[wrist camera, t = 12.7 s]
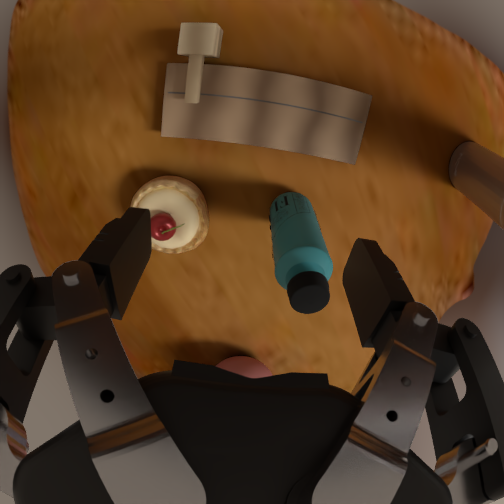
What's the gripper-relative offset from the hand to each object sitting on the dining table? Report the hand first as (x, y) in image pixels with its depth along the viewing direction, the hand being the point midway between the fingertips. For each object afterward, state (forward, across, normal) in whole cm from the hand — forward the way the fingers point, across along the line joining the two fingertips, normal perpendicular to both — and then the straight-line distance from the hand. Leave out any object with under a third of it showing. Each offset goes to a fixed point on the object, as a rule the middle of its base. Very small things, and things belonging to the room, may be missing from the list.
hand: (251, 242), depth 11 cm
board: (+30, -1, -2) cm, 30 cm away
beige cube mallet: (+30, +8, -7) cm, 32 cm away
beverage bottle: (+30, -7, +12) cm, 33 cm away
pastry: (+30, +10, +14) cm, 35 cm away
